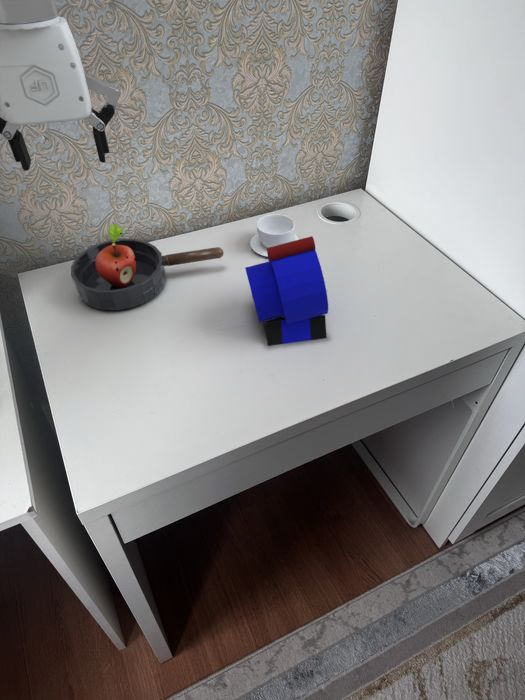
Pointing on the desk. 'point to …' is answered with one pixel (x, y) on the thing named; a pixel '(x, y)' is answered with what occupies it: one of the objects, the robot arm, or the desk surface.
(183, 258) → the pan handle
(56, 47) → the robot arm
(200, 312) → the desk surface
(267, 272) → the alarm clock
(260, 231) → the teacup
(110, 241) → the pan
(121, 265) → the apple
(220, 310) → the desk surface
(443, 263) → the desk surface
